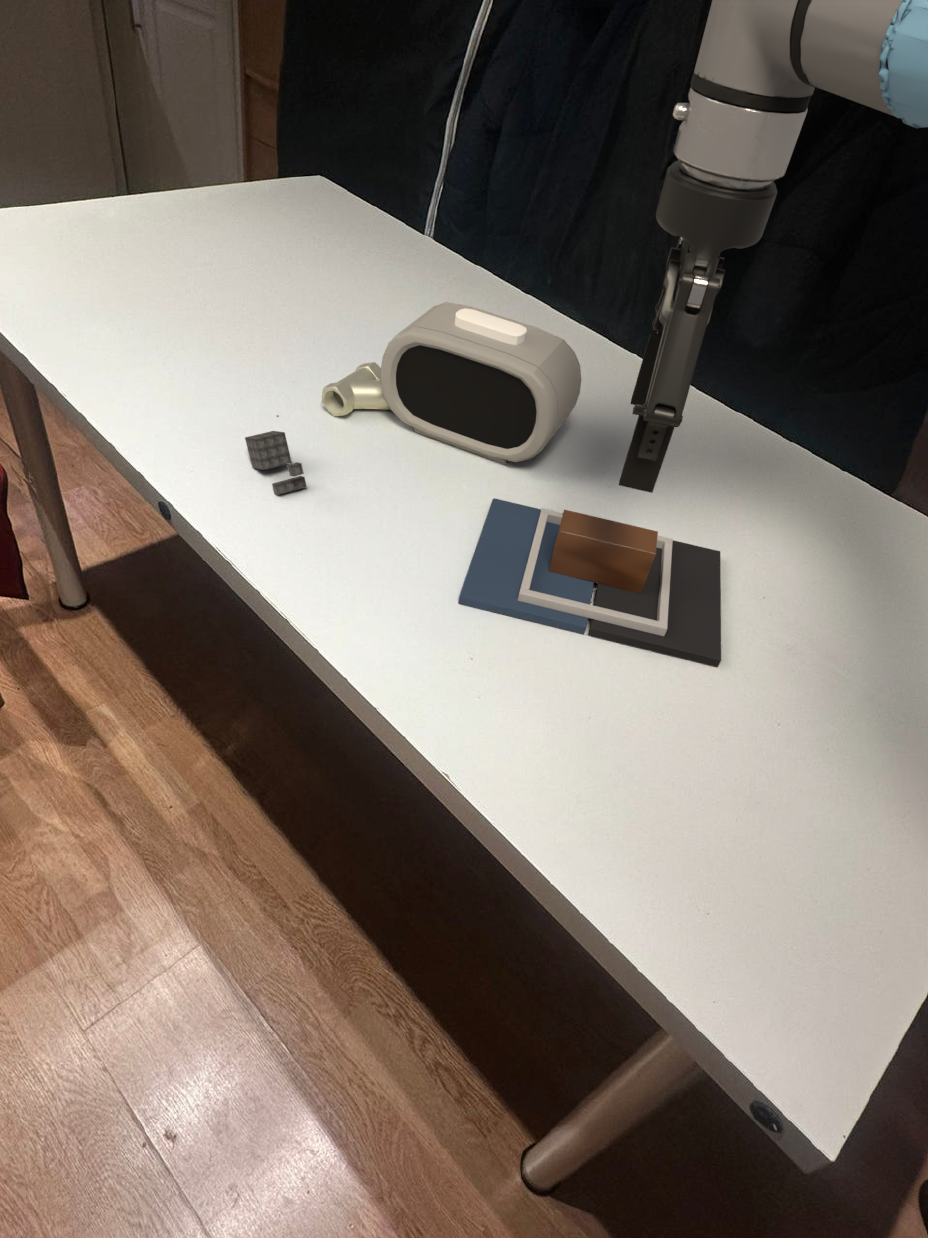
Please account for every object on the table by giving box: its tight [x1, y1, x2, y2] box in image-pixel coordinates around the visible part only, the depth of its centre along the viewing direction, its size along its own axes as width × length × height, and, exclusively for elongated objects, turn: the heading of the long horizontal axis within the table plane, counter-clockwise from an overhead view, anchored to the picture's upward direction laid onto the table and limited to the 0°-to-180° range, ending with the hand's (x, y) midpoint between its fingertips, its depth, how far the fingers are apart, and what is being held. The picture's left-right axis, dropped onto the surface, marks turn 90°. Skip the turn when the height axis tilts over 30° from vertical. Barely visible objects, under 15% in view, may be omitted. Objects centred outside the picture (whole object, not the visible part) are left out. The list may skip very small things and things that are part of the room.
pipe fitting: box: [321, 361, 392, 417], centre depth 96 cm, size 8×4×7 cm
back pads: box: [458, 497, 722, 668], centre depth 79 cm, size 24×16×2 cm, turn 77°
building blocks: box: [244, 430, 308, 496], centre depth 84 cm, size 3×6×8 cm
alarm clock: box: [380, 301, 582, 465], centre depth 92 cm, size 21×10×13 cm, turn 65°
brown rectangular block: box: [549, 509, 659, 594], centre depth 78 cm, size 9×4×5 cm, turn 77°
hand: (640, 443), depth 70 cm, fingers open, 13 cm apart
